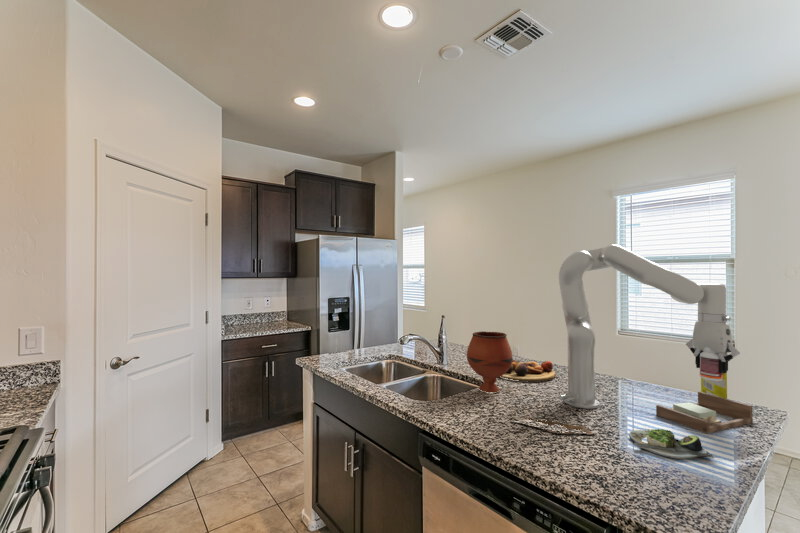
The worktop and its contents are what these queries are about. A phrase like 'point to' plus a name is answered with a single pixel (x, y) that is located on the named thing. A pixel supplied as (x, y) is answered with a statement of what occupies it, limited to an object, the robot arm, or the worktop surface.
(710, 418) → the ash offcut
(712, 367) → the pill bottle
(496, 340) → the goblet
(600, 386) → the worktop surface
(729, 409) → the walnut rack
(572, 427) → the wooden fragment
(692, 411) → the sage painted offcut
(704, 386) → the food package
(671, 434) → the salad plate
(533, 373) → the wooden plate with food
